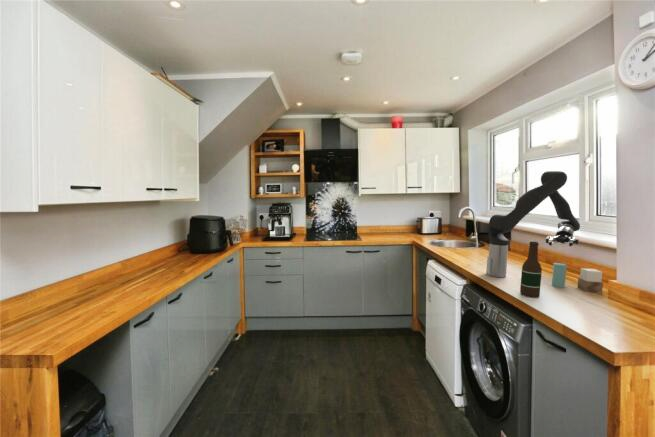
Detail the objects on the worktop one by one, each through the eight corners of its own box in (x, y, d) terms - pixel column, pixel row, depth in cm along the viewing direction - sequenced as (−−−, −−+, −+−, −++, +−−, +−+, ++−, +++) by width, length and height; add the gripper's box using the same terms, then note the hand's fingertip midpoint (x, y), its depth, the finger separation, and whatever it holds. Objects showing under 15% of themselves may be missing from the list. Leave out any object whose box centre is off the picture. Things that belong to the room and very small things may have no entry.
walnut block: (585, 291, 161) (586, 281, 161) (577, 287, 168) (578, 277, 168) (601, 293, 160) (603, 282, 160) (593, 288, 167) (594, 278, 166)
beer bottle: (543, 298, 148) (548, 243, 146) (525, 297, 149) (530, 243, 146) (533, 292, 156) (537, 241, 154) (516, 292, 156) (520, 240, 154)
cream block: (586, 281, 161) (588, 270, 161) (580, 278, 167) (581, 268, 167) (601, 282, 160) (602, 271, 160) (593, 279, 166) (594, 269, 166)
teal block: (552, 286, 169) (554, 264, 168) (551, 283, 173) (553, 262, 173) (564, 287, 167) (566, 265, 166) (563, 285, 171) (565, 263, 170)
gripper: (549, 228, 193) (543, 237, 181) (580, 228, 183) (576, 237, 172) (549, 240, 194) (544, 250, 183) (580, 241, 185) (577, 251, 173)
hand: (560, 244), depth 177 cm, fingers open, 8 cm apart
